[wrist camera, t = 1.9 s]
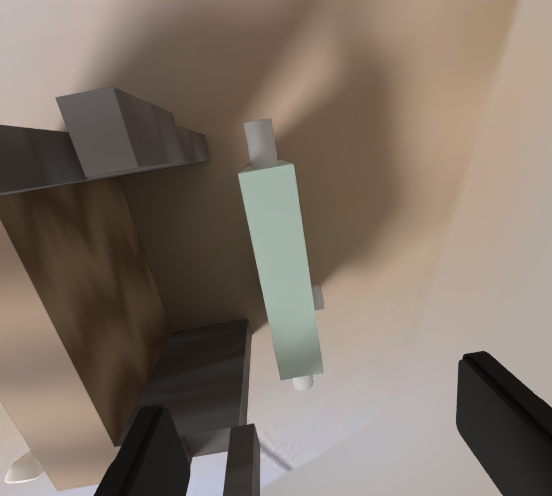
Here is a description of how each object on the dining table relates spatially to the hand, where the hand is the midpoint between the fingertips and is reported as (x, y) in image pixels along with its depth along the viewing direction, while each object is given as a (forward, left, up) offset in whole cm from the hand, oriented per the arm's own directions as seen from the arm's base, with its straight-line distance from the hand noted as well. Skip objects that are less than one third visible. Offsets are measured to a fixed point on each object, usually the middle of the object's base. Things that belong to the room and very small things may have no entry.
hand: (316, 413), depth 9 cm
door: (0, 0, -19) cm, 19 cm away
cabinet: (0, -11, -19) cm, 21 cm away
